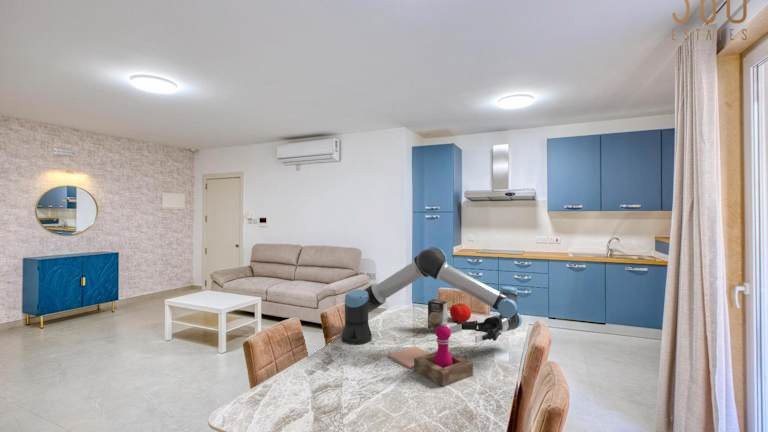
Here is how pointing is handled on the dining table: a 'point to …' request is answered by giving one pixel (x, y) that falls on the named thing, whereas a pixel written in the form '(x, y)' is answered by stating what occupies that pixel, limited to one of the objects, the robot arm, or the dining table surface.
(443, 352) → the pepper mill
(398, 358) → the terracotta tile
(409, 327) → the dining table surface
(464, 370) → the walnut holder
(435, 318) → the coffee box
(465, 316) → the tomato
